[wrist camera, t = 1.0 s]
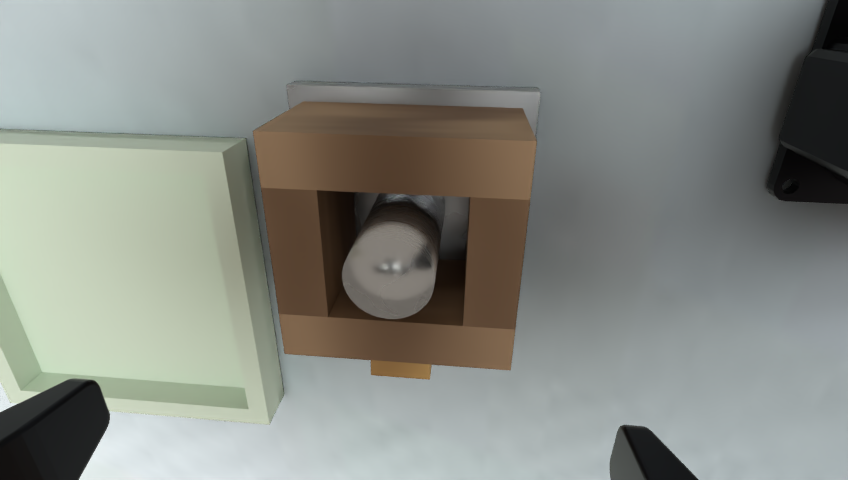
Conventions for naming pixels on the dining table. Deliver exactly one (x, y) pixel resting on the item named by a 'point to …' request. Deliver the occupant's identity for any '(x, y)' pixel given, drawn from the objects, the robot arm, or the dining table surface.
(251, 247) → the tray
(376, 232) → the stake
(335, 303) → the brown piece
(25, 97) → the dining table surface
